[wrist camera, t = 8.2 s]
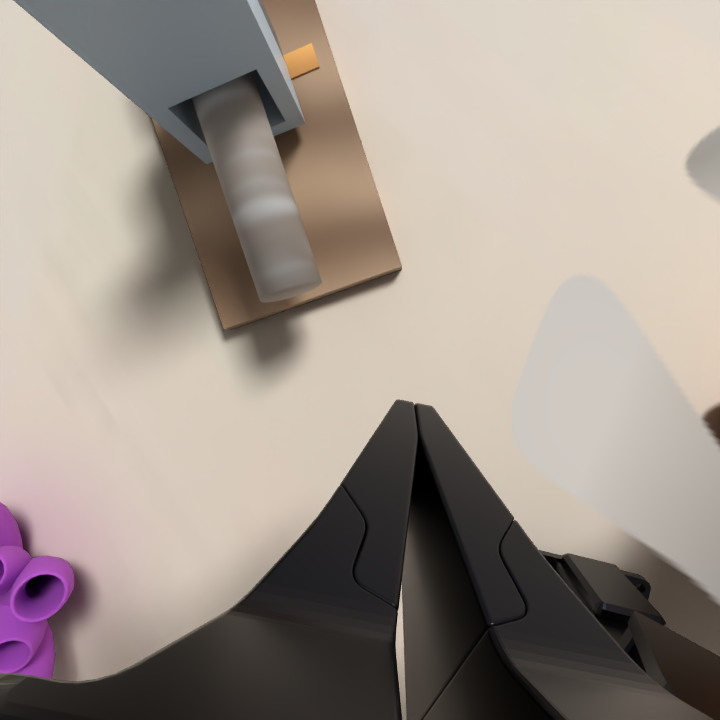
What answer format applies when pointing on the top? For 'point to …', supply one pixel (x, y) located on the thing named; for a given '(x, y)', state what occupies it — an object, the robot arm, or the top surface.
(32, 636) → the purple coral
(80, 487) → the top surface
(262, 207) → the pipe stand
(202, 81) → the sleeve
